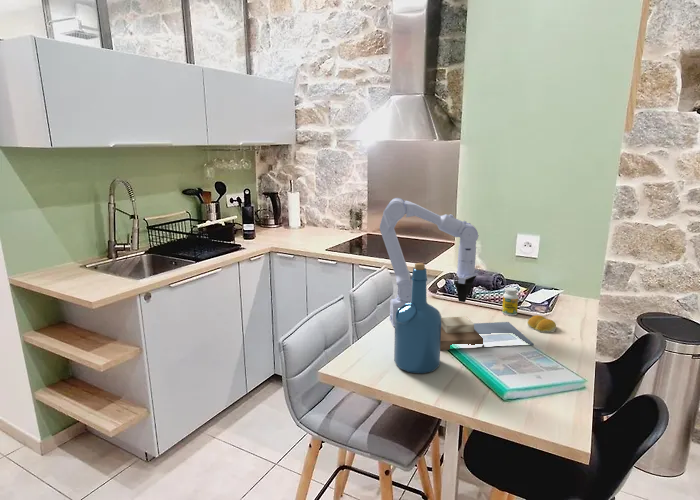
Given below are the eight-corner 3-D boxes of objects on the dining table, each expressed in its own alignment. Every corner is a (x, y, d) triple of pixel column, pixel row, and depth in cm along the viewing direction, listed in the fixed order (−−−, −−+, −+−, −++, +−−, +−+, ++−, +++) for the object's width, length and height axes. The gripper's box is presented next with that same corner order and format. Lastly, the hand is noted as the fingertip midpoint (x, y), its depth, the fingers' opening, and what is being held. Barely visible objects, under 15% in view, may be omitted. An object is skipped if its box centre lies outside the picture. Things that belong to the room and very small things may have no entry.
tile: (446, 333, 143) (446, 325, 142) (440, 324, 150) (440, 317, 149) (473, 331, 144) (474, 324, 143) (466, 323, 151) (466, 316, 150)
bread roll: (546, 335, 148) (547, 324, 147) (523, 326, 156) (524, 315, 155) (561, 330, 153) (562, 319, 152) (538, 321, 160) (539, 310, 159)
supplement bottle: (516, 311, 169) (518, 287, 167) (517, 316, 164) (519, 291, 162) (501, 310, 171) (503, 286, 168) (501, 315, 166) (503, 290, 163)
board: (438, 350, 138) (439, 341, 137) (423, 327, 155) (424, 319, 155) (482, 347, 139) (483, 338, 139) (463, 325, 157) (463, 317, 156)
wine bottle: (419, 349, 138) (421, 255, 131) (450, 367, 127) (454, 265, 121) (383, 361, 131) (384, 262, 124) (413, 380, 120) (416, 273, 113)
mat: (484, 347, 139) (484, 346, 139) (464, 325, 157) (464, 323, 157) (533, 345, 141) (533, 343, 141) (508, 323, 158) (508, 321, 158)
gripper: (475, 266, 143) (472, 306, 146) (482, 256, 156) (479, 293, 159) (452, 263, 146) (450, 303, 149) (461, 254, 159) (459, 290, 162)
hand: (464, 298), depth 154 cm, fingers open, 7 cm apart
